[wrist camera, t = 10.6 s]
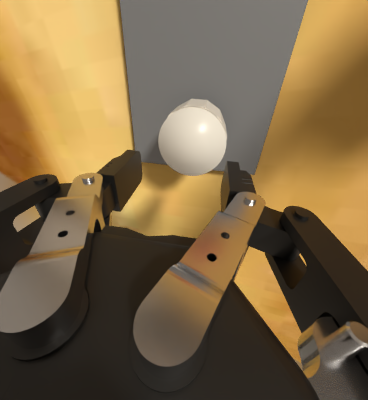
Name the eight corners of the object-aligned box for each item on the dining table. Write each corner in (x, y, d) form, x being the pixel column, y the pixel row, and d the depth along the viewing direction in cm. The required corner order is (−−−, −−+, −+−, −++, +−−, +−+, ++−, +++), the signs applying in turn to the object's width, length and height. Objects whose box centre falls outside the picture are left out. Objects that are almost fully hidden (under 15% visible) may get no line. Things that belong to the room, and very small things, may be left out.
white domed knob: (170, 96, 19) (157, 104, 15) (229, 101, 18) (232, 111, 14) (169, 153, 22) (159, 172, 18) (219, 158, 22) (220, 179, 18)
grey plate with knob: (110, -168, 13) (17, -374, 7) (356, -181, 12) (507, -453, 6) (139, 157, 27) (117, 182, 21) (252, 169, 26) (263, 201, 20)
